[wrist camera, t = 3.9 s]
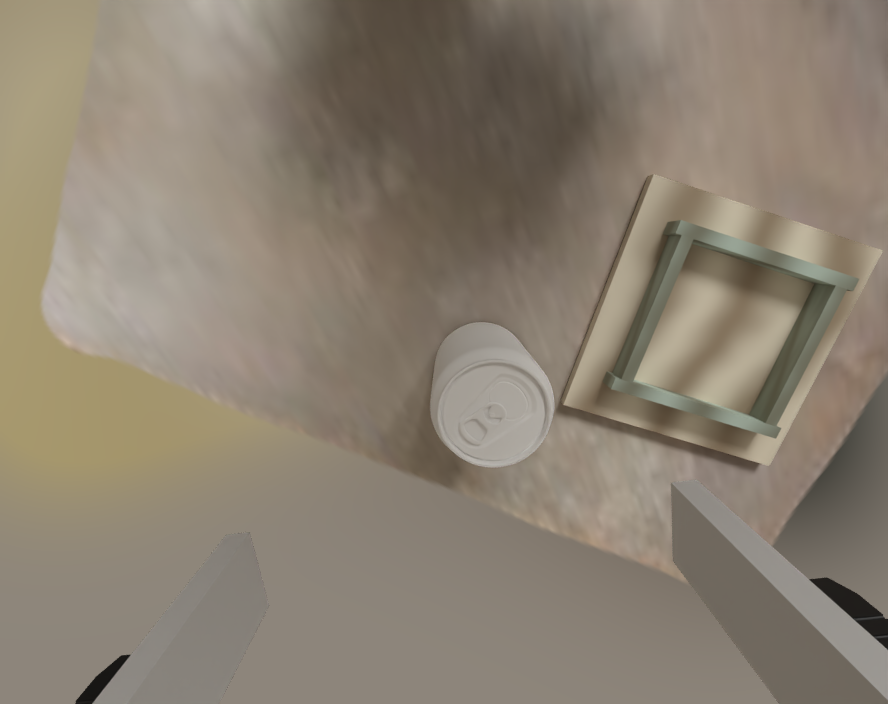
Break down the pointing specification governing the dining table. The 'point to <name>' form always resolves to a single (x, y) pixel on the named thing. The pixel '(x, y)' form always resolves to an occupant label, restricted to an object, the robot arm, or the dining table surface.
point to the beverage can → (489, 396)
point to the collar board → (715, 320)
